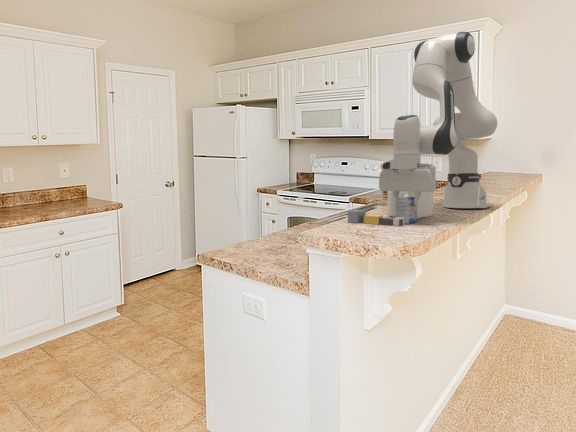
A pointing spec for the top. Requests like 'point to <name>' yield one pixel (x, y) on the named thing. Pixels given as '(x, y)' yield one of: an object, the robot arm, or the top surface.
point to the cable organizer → (422, 208)
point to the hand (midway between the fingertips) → (406, 204)
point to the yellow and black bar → (382, 220)
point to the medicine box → (406, 209)
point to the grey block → (355, 216)
